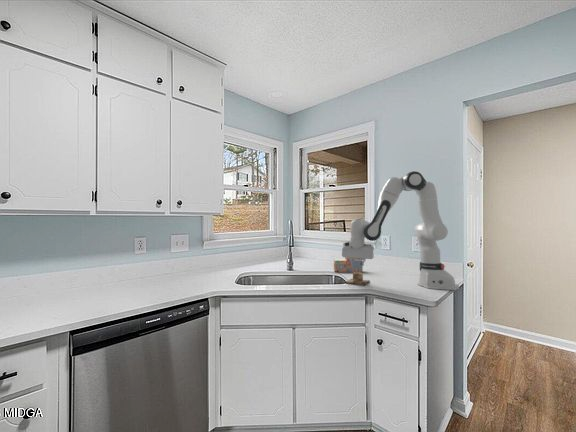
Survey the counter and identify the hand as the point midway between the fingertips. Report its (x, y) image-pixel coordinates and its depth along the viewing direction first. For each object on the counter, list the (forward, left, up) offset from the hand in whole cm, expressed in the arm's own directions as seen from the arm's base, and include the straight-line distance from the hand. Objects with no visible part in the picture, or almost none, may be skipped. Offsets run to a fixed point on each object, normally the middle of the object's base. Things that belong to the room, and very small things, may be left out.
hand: (357, 265), depth 191 cm
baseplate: (0, 0, -12) cm, 12 cm away
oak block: (0, 0, -10) cm, 10 cm away
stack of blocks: (+19, -36, -12) cm, 42 cm away
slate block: (0, 0, -2) cm, 2 cm away
